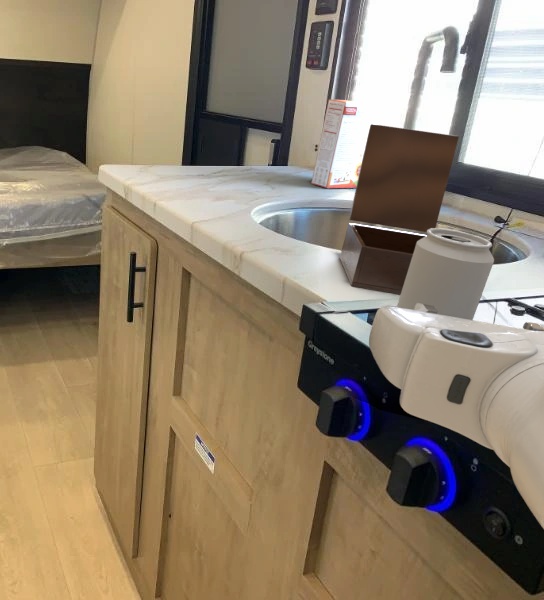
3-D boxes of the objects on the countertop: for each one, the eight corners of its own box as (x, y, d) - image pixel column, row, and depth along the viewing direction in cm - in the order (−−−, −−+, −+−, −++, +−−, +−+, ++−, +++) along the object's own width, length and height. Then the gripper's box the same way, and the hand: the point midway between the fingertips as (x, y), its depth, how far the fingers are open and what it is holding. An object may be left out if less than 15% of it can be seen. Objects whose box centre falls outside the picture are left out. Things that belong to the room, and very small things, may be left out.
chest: (445, 302, 79) (459, 262, 76) (351, 286, 80) (361, 246, 78) (421, 271, 91) (432, 236, 89) (339, 257, 92) (348, 222, 90)
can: (454, 333, 69) (489, 233, 64) (468, 361, 62) (509, 251, 57) (386, 319, 70) (416, 220, 66) (393, 344, 64) (427, 236, 59)
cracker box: (345, 183, 160) (365, 101, 152) (363, 188, 155) (385, 104, 148) (308, 183, 153) (328, 97, 145) (326, 189, 148) (347, 100, 140)
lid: (459, 136, 85) (447, 138, 90) (371, 123, 87) (364, 127, 92) (434, 233, 88) (423, 230, 93) (349, 219, 90) (344, 218, 94)
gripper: (726, 387, 39) (612, 309, 52) (404, 330, 42) (371, 269, 54) (682, 466, 42) (583, 373, 54) (380, 407, 44) (353, 331, 57)
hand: (475, 321), depth 54 cm, fingers open, 8 cm apart
